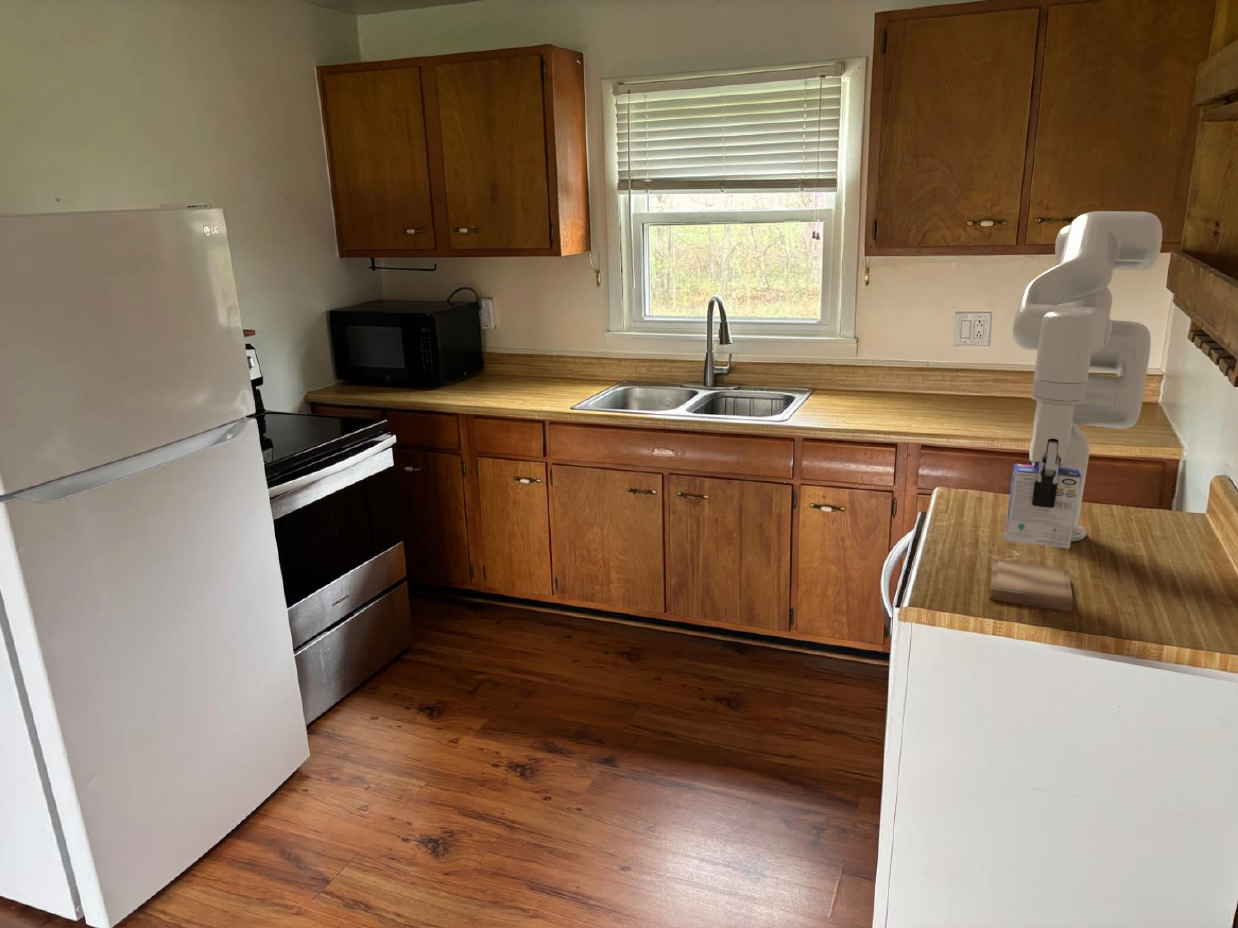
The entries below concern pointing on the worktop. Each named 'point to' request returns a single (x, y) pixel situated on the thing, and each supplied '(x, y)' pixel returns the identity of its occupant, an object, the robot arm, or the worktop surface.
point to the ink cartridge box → (1042, 508)
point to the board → (1031, 585)
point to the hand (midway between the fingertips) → (1042, 499)
